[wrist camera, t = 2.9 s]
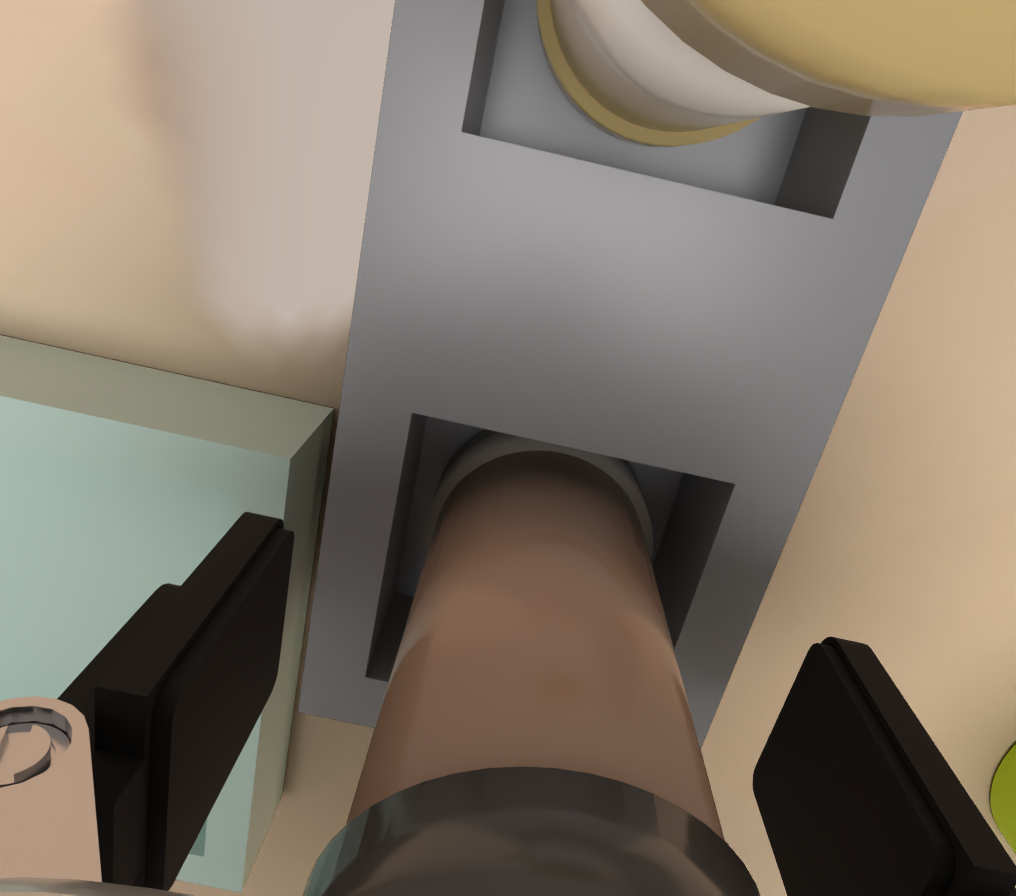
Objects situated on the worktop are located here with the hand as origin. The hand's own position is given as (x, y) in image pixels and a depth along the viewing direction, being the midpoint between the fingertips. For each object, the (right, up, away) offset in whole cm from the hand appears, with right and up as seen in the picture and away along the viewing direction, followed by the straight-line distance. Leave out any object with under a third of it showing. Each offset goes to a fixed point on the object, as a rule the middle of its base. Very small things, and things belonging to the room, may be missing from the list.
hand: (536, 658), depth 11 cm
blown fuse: (0, +2, +5) cm, 5 cm away
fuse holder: (+1, +7, +4) cm, 8 cm away
